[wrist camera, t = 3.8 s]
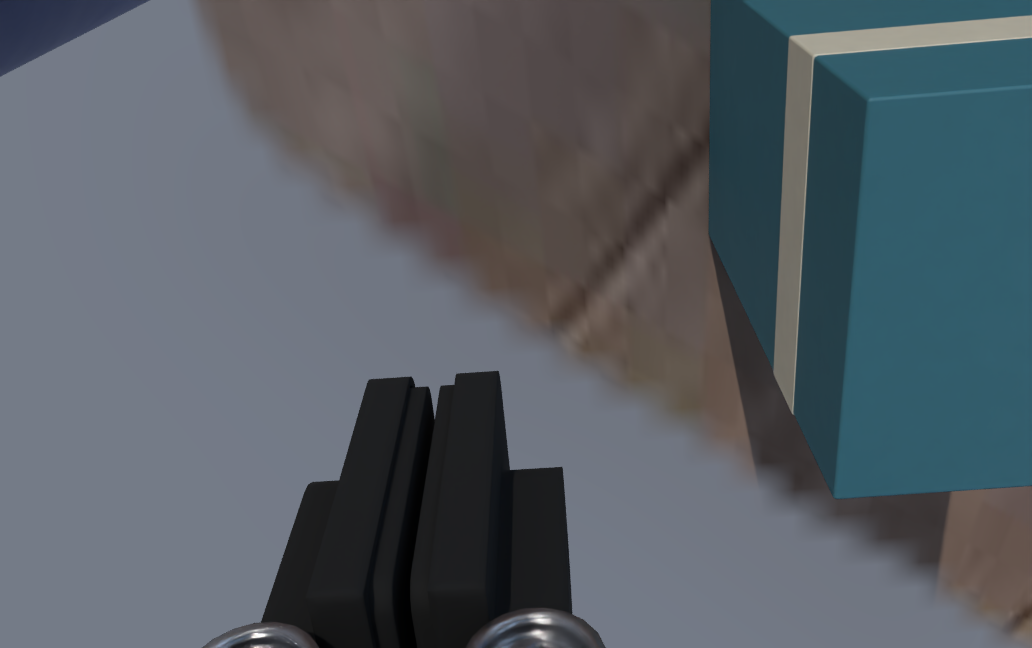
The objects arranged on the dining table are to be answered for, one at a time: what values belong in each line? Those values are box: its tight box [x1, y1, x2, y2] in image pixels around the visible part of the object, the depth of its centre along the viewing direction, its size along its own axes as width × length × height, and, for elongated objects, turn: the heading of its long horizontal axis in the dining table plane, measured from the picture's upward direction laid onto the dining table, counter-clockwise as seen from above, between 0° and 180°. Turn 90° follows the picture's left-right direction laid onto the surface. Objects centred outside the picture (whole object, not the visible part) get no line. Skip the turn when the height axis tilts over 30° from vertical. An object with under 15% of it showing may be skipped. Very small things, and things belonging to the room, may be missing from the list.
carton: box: [709, 0, 1032, 499], centre depth 20 cm, size 5×7×12 cm
